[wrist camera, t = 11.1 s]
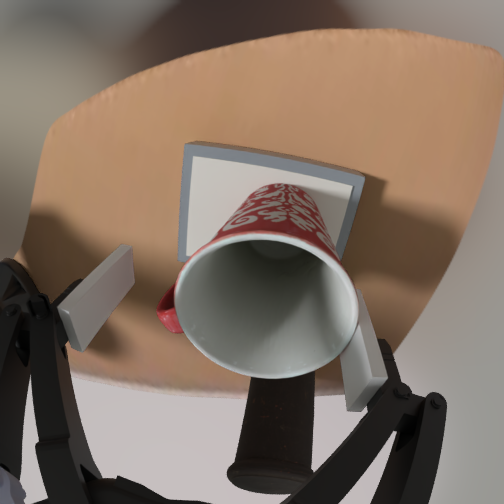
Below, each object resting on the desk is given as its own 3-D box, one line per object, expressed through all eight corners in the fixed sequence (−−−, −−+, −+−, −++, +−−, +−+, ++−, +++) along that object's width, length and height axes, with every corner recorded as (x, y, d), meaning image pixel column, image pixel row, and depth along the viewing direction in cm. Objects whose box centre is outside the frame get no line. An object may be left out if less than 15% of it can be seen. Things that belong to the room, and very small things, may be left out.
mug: (312, 156, 22) (333, 203, 10) (342, 250, 25) (370, 362, 13) (181, 205, 26) (95, 282, 14) (221, 284, 29) (175, 389, 17)
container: (263, 374, 39) (242, 497, 22) (244, 333, 36) (209, 476, 18) (320, 367, 37) (320, 497, 20) (310, 323, 34) (308, 479, 16)
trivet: (187, 248, 31) (176, 261, 28) (195, 140, 26) (183, 144, 23) (327, 276, 30) (330, 293, 28) (358, 171, 25) (366, 177, 22)
